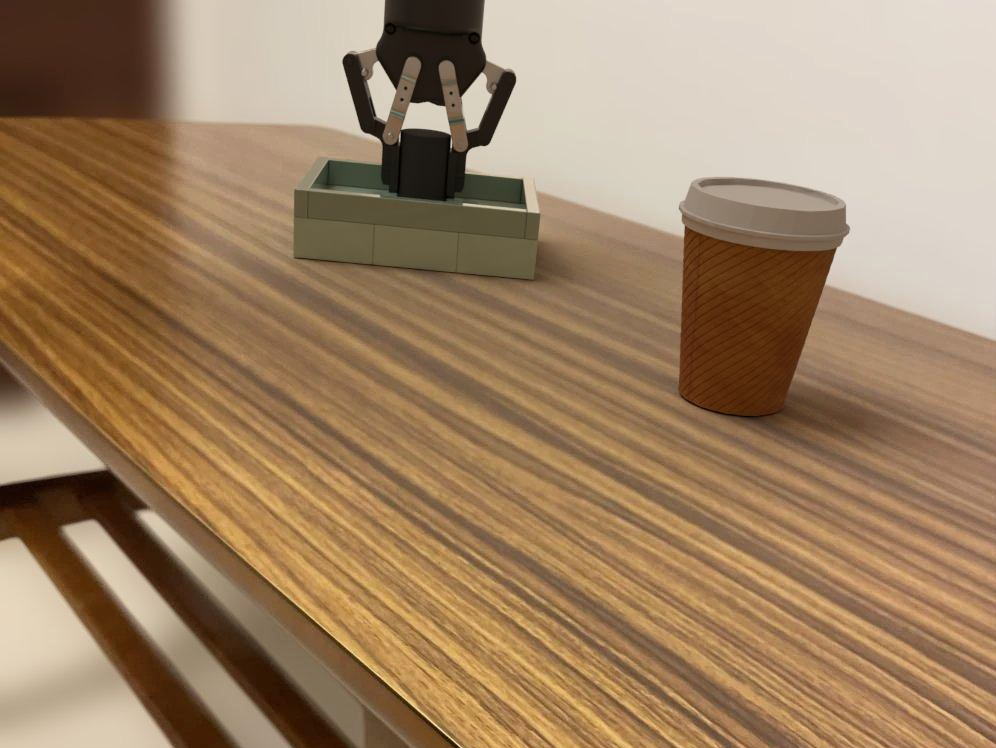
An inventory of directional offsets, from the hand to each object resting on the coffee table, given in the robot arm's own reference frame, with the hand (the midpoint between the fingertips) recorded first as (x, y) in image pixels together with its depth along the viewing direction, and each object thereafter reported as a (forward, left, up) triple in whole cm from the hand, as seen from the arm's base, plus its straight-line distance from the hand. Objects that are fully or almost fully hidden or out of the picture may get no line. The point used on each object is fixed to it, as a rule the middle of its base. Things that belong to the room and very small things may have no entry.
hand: (422, 193), depth 100 cm
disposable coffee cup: (+20, -33, -4) cm, 39 cm away
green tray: (0, -3, -4) cm, 5 cm away
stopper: (0, 0, -1) cm, 1 cm away
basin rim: (0, -3, -1) cm, 3 cm away
